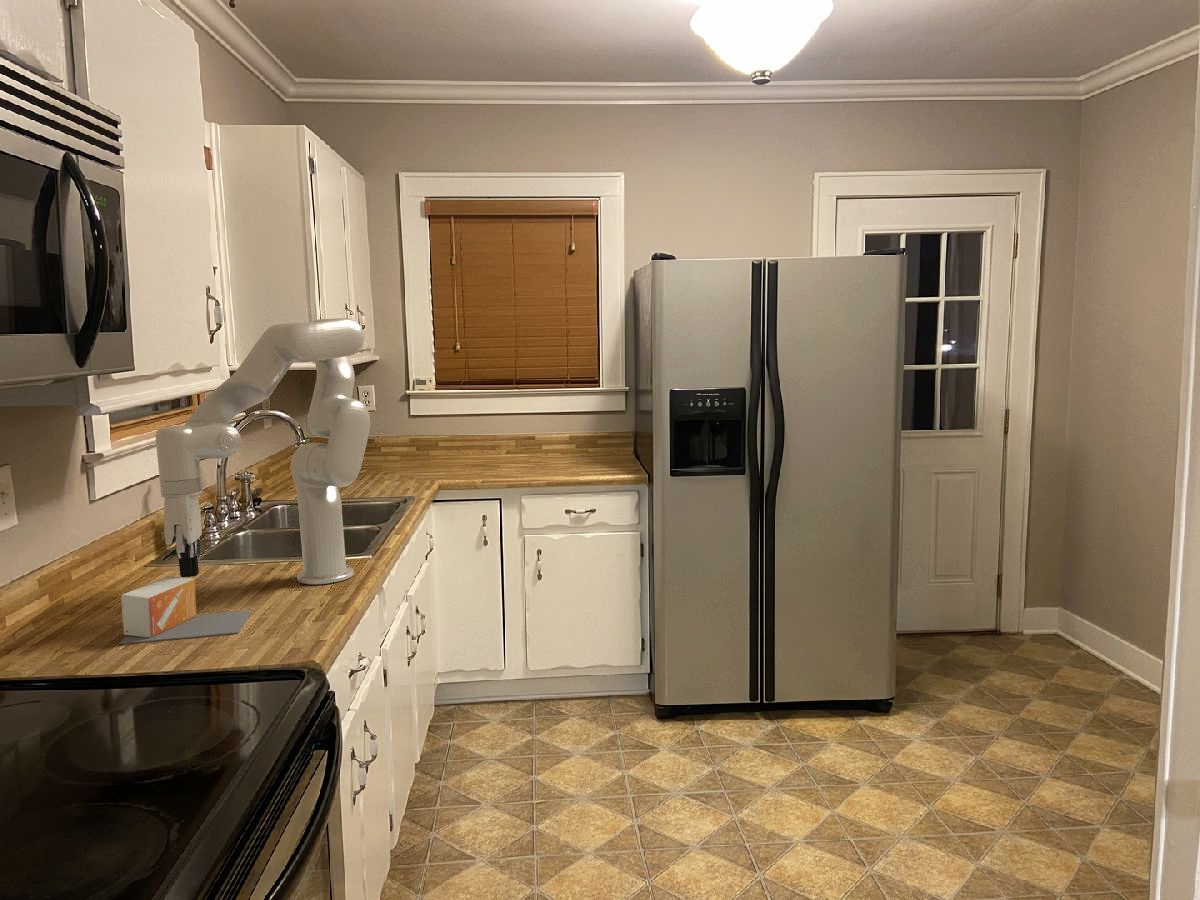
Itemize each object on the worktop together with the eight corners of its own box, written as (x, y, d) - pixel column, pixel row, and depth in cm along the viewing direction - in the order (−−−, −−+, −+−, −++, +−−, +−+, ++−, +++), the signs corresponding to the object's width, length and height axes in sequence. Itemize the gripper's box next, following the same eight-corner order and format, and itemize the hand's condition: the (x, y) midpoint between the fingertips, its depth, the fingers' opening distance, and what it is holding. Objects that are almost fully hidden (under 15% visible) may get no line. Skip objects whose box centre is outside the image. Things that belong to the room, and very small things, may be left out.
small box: (197, 616, 179) (150, 639, 167) (171, 613, 181) (122, 635, 168) (195, 577, 178) (148, 598, 165) (168, 574, 179) (119, 594, 167)
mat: (142, 621, 178) (141, 619, 178) (251, 611, 182) (251, 609, 182) (119, 644, 164) (118, 643, 164) (238, 633, 169) (238, 632, 168)
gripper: (171, 482, 184) (180, 568, 187) (150, 495, 170) (159, 587, 172) (209, 480, 186) (217, 565, 188) (191, 492, 171) (200, 584, 174)
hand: (189, 575), depth 180 cm, fingers closed
